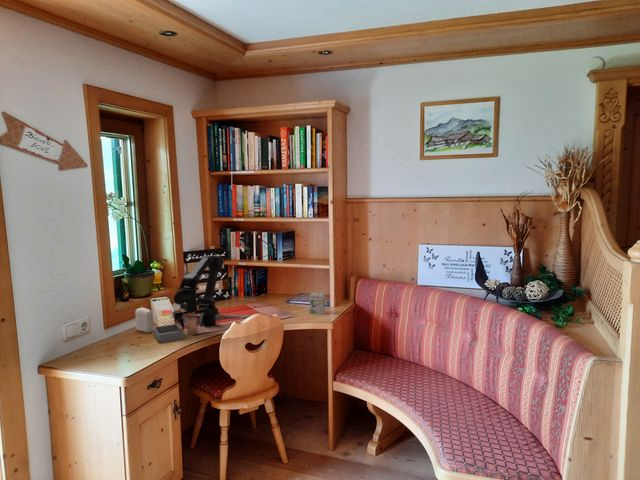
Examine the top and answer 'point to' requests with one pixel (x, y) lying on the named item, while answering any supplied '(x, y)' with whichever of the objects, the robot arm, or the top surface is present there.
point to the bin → (168, 333)
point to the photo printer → (144, 320)
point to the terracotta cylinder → (192, 325)
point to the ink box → (317, 303)
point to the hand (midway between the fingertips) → (192, 328)
